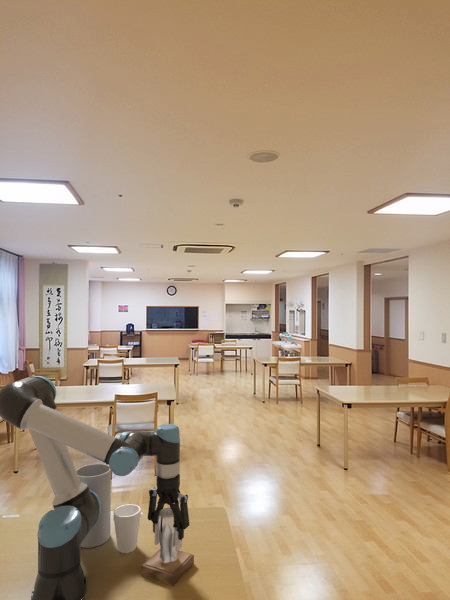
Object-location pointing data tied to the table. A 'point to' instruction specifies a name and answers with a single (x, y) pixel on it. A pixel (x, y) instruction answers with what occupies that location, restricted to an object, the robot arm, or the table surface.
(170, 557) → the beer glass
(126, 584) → the table surface
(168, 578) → the coaster
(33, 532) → the table surface
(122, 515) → the foam cup
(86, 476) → the cylinder vase
